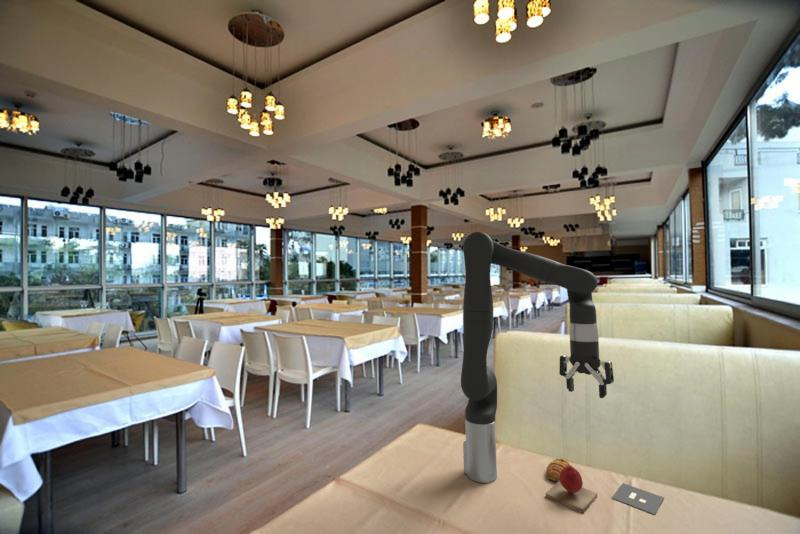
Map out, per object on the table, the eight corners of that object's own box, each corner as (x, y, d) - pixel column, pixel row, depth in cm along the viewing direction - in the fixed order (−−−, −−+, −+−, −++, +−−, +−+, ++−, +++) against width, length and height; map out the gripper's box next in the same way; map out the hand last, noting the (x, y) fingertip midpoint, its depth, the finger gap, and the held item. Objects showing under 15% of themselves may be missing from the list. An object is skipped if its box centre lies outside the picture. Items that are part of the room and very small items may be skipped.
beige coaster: (545, 496, 101) (545, 493, 102) (560, 482, 108) (560, 479, 108) (583, 513, 94) (583, 509, 94) (597, 496, 101) (597, 493, 101)
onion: (581, 489, 103) (580, 460, 103) (584, 501, 98) (583, 470, 98) (559, 485, 105) (558, 457, 105) (560, 497, 100) (559, 467, 100)
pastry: (564, 486, 107) (563, 473, 107) (541, 478, 111) (540, 466, 111) (574, 473, 113) (573, 461, 114) (552, 466, 118) (551, 454, 118)
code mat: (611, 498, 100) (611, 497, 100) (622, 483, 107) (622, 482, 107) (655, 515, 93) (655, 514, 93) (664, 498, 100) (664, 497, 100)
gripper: (554, 337, 109) (556, 392, 109) (605, 342, 99) (608, 403, 98) (564, 334, 115) (567, 386, 114) (615, 339, 104) (617, 396, 103)
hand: (586, 394), depth 106 cm, fingers open, 8 cm apart
